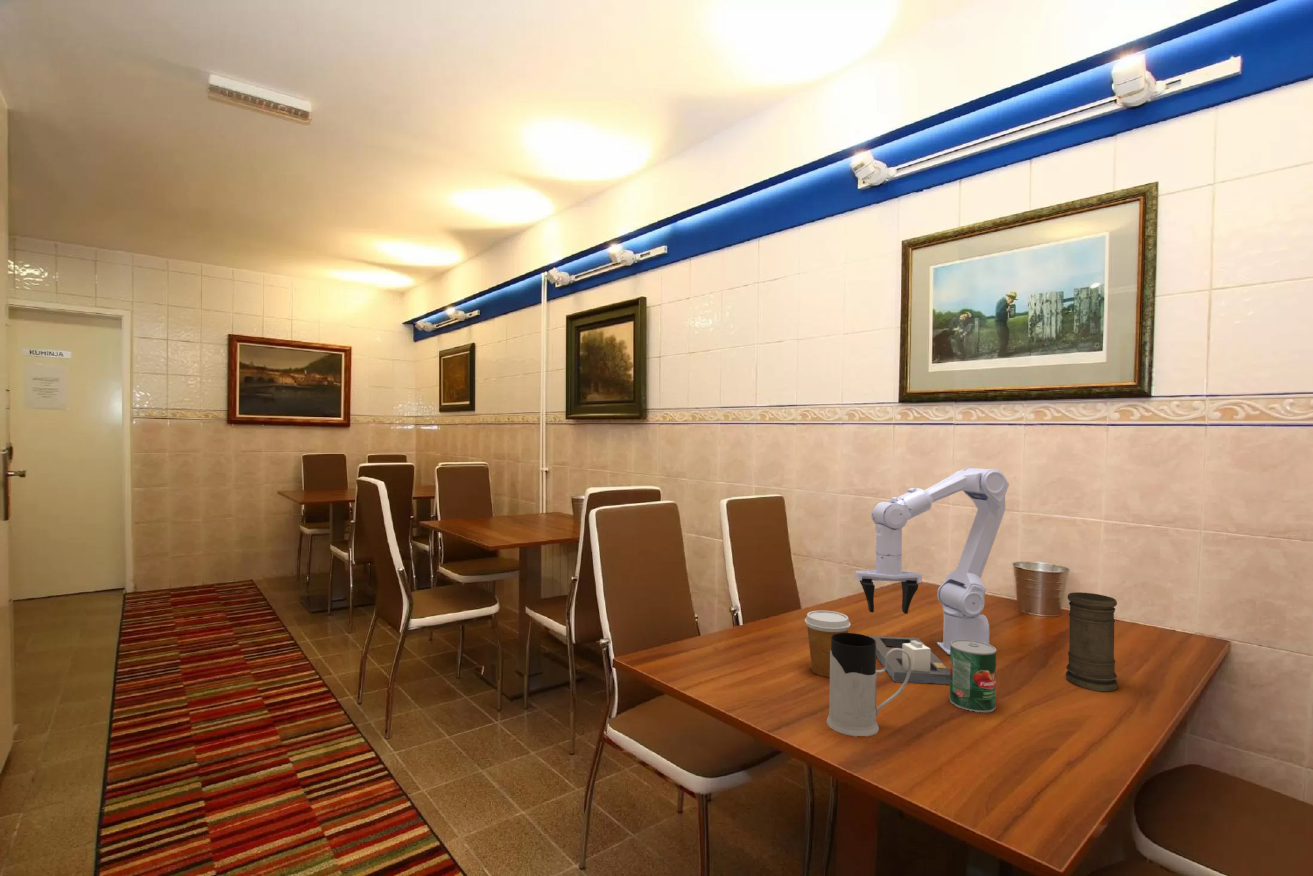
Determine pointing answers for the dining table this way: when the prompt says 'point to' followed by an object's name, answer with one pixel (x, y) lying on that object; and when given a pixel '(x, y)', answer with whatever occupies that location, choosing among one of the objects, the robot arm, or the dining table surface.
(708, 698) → the dining table surface
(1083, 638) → the container
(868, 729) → the grey beer mug
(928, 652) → the plug
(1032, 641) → the dining table surface
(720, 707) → the dining table surface
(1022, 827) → the dining table surface
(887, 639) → the panel
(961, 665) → the canned tomato
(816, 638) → the disposable coffee cup
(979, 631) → the robot arm
